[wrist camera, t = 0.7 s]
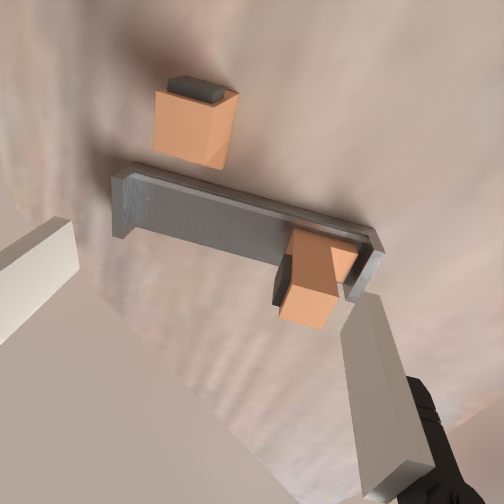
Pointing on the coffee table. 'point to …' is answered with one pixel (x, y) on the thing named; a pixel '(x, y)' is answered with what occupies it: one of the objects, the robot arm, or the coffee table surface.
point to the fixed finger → (311, 277)
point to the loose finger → (194, 121)
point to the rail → (230, 220)
